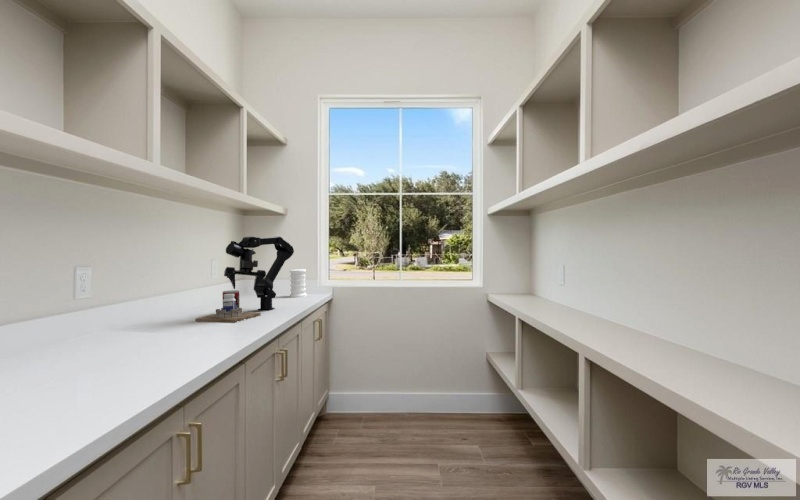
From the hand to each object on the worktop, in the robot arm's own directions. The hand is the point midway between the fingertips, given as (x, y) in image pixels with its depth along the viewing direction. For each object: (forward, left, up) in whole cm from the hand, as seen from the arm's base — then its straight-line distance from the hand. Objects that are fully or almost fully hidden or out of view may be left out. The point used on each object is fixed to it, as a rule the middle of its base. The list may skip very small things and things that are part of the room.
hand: (244, 289), depth 203 cm
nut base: (+10, -2, -12) cm, 16 cm away
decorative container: (-82, -13, -13) cm, 84 cm away
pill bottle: (+10, -2, -11) cm, 15 cm away
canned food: (-6, -12, -13) cm, 18 cm away
